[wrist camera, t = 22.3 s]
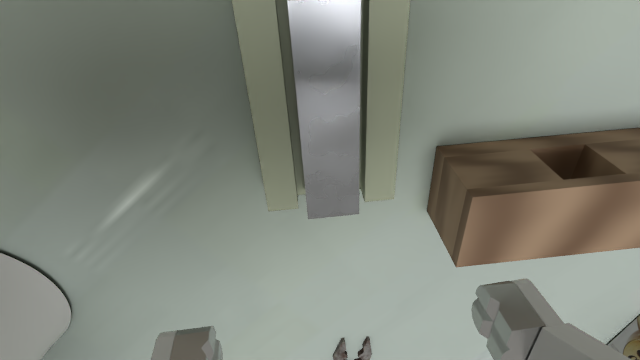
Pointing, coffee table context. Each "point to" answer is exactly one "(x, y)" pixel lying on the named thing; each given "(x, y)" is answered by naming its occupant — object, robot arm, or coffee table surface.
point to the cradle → (281, 103)
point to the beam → (537, 196)
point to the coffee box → (628, 341)
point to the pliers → (362, 354)
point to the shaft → (328, 101)
